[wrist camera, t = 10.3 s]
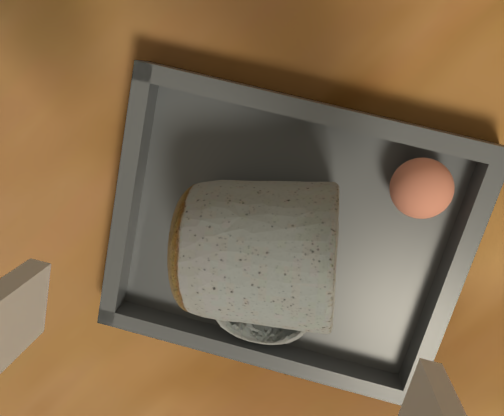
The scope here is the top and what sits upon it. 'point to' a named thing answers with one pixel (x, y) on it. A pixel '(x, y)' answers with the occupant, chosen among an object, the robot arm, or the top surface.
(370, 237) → the tray
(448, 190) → the ball
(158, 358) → the top surface
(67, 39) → the top surface
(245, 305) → the ceramic mug
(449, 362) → the top surface
